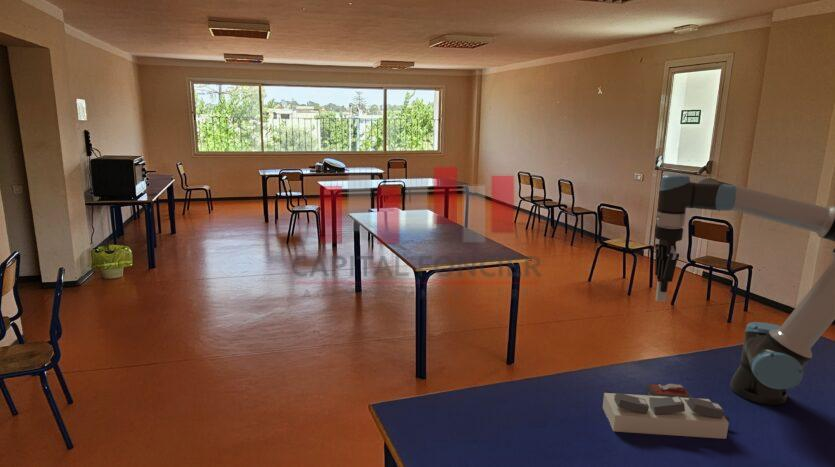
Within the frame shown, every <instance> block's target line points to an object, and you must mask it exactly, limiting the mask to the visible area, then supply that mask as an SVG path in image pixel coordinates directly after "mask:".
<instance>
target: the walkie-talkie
mask: <svg viewBox="0 0 835 467" xmlns="http://www.w3.org/2000/svg"><path fill="white" fill-rule="evenodd" d="M645 393H646V394H647V395H648V396H665V397H674V396H679V397H682V398H689V397H692V396H691V394H690V393H689V390H688V389H686V388H685V387H684V386H683V385H682V384H679V383H678V384H677V383H667V384H665V385H664V384H663V385H662V384H660V383H659V384H650V383H649V384H646V388H645ZM713 403H715V402H713ZM716 403H717V404H719V403H718V402H716Z"/></svg>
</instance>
